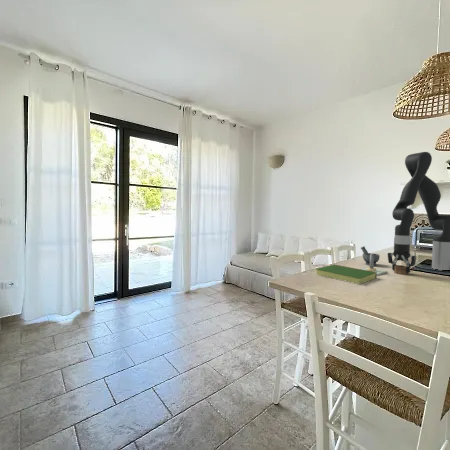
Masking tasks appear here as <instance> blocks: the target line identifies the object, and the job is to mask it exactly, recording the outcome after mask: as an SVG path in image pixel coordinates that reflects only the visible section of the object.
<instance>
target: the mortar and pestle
mask: <svg viewBox="0 0 450 450" xmlns="http://www.w3.org/2000/svg"><path fill="white" fill-rule="evenodd" d="M360 250H361V251H362V259H363V261H364V262H365V265H366V266H370V254H374V267H375V266H377V263H378V262H379V260H380V257H381V255H380V254H378V253H370V252H368V250H367V249H366V246H364V245H363V246H361V247H360Z"/></svg>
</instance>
